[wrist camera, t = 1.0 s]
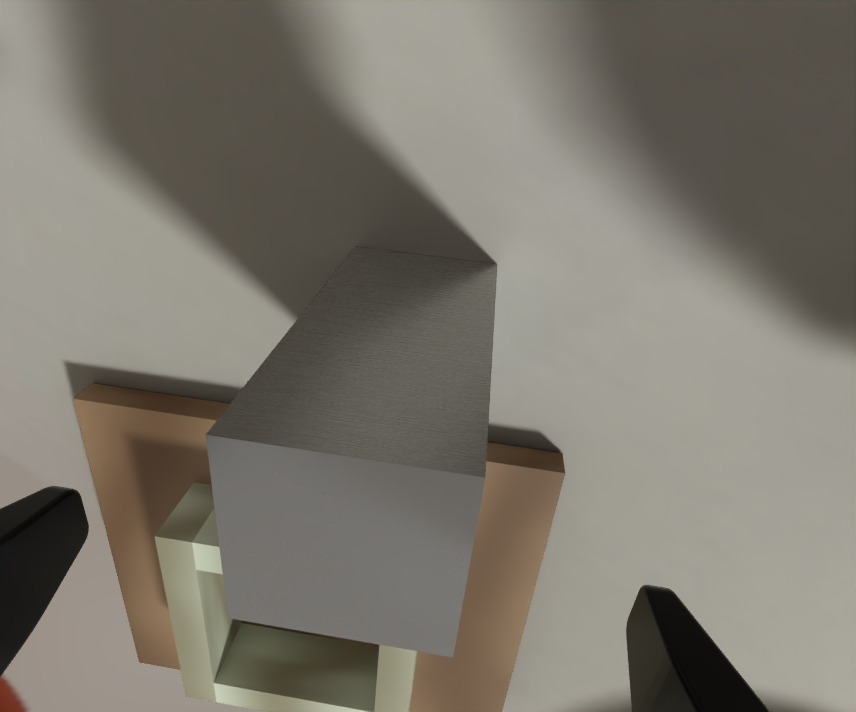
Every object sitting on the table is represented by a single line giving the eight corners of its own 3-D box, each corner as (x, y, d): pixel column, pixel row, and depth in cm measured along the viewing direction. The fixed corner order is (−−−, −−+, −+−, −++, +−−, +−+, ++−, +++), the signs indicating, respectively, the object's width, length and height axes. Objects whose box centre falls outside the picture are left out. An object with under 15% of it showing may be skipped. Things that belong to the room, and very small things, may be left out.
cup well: (562, 453, 18) (573, 533, 15) (498, 704, 25) (496, 795, 22) (92, 383, 19) (14, 444, 16) (151, 641, 26) (104, 720, 23)
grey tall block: (497, 264, 16) (485, 477, 8) (478, 386, 18) (453, 657, 10) (355, 246, 16) (205, 434, 8) (352, 368, 18) (227, 618, 10)
